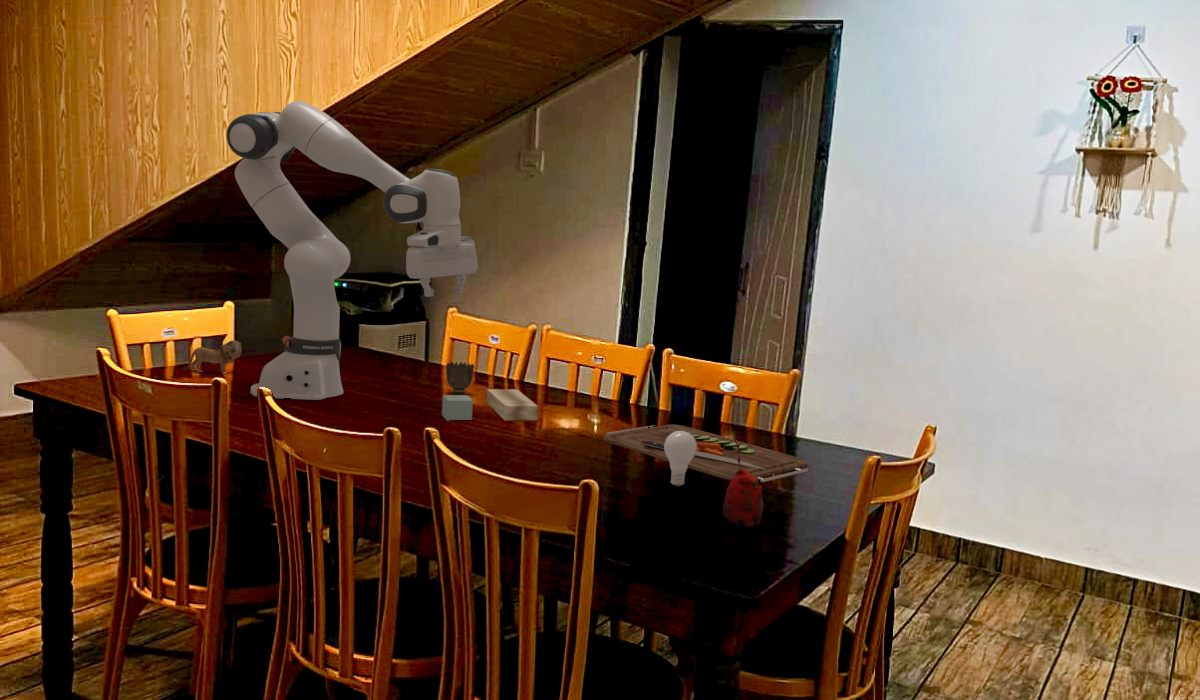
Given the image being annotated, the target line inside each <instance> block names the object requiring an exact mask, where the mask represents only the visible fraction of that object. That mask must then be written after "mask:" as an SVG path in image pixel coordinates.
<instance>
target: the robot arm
mask: <svg viewBox="0 0 1200 700" xmlns="http://www.w3.org/2000/svg"><path fill="white" fill-rule="evenodd" d="M226 141H227V145H228V146H229V148H230V150H231V151H232V152H233V153H234V154H235V155H236V156H238V157H240V158H242V160H241V161H240V162H239V163H238V164H237V166H236V167H235V170H234V177H235V181H236V183H237V185H238V187H239V188H240V190H241V192H242V195H243V196H244V198H245V199H246V200H247V202H248V204H249V206H250V207H251V208H252V209H253V211H254V212H255V214H256V215H257V216H258V217H259V219H260V221H261V222H262V223H263V225H264V226H265V228H266V230H268V231H269V233H270V234H271V235H272V236H273V237H275V239H277V240H279V241H280V242H281V243H282V244H283V245H284V246H285V247H287V248H286V249H288V250H287V252H286V254H285V256H284V260H283V266H284V269H285V271H286V273H287V275H288V277H289V283H290V288H291V293H292V300H293V335H292V336H289V335H285V336H284V337H282V339H281V340H282V343H283V344H284V352H282V353H281V354H279V355H277V357H275V358H273V359H272V360H271V361H269V362H267V363H266V364H265V365H264V366H263V368H262V370H261V373H260V378H259V383H254V384H253V385H251V387H250V394H251V395H252V396H254V397H256V398H258V397H257V389H258V387H265V388H268V389H270V390H271V391H272V393H273V396H274V397H275V398H274V399H284V398H291V399H292V400H310V401H319V400H324V399H327V398H332V397H337V396H341V395H343V394H344V389H343V384H342V380H341V374H340V360H341V354H342V353H341V350H342V342H341V338H340V316H341V315H340V314H341V313H340V312H341V308H340V305H339V303H338V300H337V295H336V289H335V280H338V279H340V277H341V276H343V275H344V274H346V272H347V270H348V268H349V267H350V265H351V264H350V263H351V253H350V251H349V249H348V247H347V246H346V245H345V244H344V243H343V242H342V241H340V240H339V239H338V238H337V237H336V236H335V235H334V234H333V232H332V231H331V230H330V229H329V228H328V227H327V226H326V225H325V224H324V222H322V221H321V220H320V219H319V218H318V216H316V215H315V214H314V213H313V212H312V210H311V209H310V208H309V206H308V205H307V204H306V203H305V201H304V200H303V199H302V197H301V196H300V195H299V193H298V192H297V191H296V189H295V187H293V185H292V184H291V182H290V181H289V180H288V178H287V177H286V176H285V174H284V173H283V171H282V169H281V164H284V163H286V162H287V161H288V160H289V158H290V156H291V155H292V153H294V151H295V150H296V149H297V150H299V151H300V152H301V153H302V154H304V155H305V156H306V157H307V158H309V159H310V160H312V161H313V162H314V163H316V164H317V165H319V166H321V167H323V168H324V169H327V170H329V171H332V172H336V173H341V174H342V173H343V174H346V175H352V176H356V177H358V178H361V179H364V180H366V181H368V182H370V183H371V184H372V185H374V186H375V187H377V188H378V189H380V190H381V191H382V192H383V193H384V194H383V199H382V207H383V210H384V213H385V214H386V216H387V217H388V218H389V219H390V220H392V221H394V222H396V223H399V224H414V223H415V224H416V223H417V224H423V229H421V230H419V231H417V232H416V233H414V234H412V235H409V236H407V238H406V244H407V246H408V248H407V251H406V257H405V260H406V261H405V262H406V263H405V268H406V269H405V271H406V274H407V276H408V277H409V279H417V280H419V283H420V285H421V286H422V288H423V293H424V295H423V296H424V297H427V298H429V297H431V298H432V297H434V295H435V294H434V291H435V289H434V288H432V287H431V286H430V283H431V278H439V277H441V278H442V277H447V276H455V277H456V279H457V281H456V284H455V285H453V293H454V294H463V293H464V292H463V291H464V289H463V287H464V285H465V283H466V281H467V275H471V274H476V273H477V271H478V269H479V266H478V264H479V263H478V256H477V254H478V253H477V250H476V242H475V240H474V239H473V238H472V237H471V236H469V235H465V236H463V235H462V225H461V224H462V223H461V220H460V214H459V213H460V210H461V194H460V185H459V184H460V183H459V180H458V177H457V175H455V173H453V172H451V171H449V170H444V169H437V168H432V167H431V168H426V169H424V171H423V172H422V173H420V174H418V175H417V176H414V177H413V178H410V177H409V176H406V175H405V174H403V173H402V172H401V171H399V170H398V169H397V168H395V167H394V166H392V165H391V164H389V163H388V162H387V161H385V160H383V159H382V158H381V157H379V156H378V155H377V154H375V153H374V152H373V151H371V150H370V149H369V148H368V147H367V146H366V145H365V144H364V143H362V142H361V141H360V140H359V139H358V138H357V137H356V136H354V135H353V134H352V133H351V132H350V131H349V130H348V129H347V128H346V127H344V126H343V125H342V124H340V122H338V121H337V120H336V119H334V118H332V116H330V115H329V114H327V113H326V112H324V111H323V110H321V109H320V108H317V107H315V106H314V105H312V104H309V103H308V102H306V101H302V100H295V101H292V102H290V103H288V104H287V105H286V106H285V107H283V108H282V110H281V112H279V111H273V112H271V111H259V112H256V113H247V114H241V115H240V116H237V117H236V118H234V119H233V120H231V122H230V123H229V125H228V127H227V129H226ZM291 399H290V400H291Z"/></svg>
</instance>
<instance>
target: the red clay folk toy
mask: <svg viewBox="0 0 1200 700" xmlns="http://www.w3.org/2000/svg"><path fill="white" fill-rule="evenodd" d="M733 440H734V441H735V443H736V447H737V448H734V453H735V454H737V452H738V459H737V461H738V463H739V470H738V471H737V472H736V474H735V476H734V477H733V479H732V480H730V483H729V484H728V486H727V489H726V493H725V497H724V499H723V502H722V503H723V504H722V510H723V511H722V515H723V518H725V519H726V520H727V521H729V523H731V524H733V525H736V526H739V527H740V526H744V527H745V528H749V527H750V528H752V527H754V526H757V525H760V524H761V521H762V514H763V512H764V501H763V497H764V496H763V494H762V492H763V487H762V486H761V485H760V484H759V479H758V478H757V477H756V476H753V475H751V472H749V471H744V470H742V469H741V465H740V460H741V459H742V458H740V456H739V446H740V445H741V444H743V442H744V441H741V442H742V443H741V444H738V443H737V441H738V440H736V438H735V437H734V438H733ZM731 446H735V445H731Z"/></svg>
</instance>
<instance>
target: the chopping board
mask: <svg viewBox="0 0 1200 700" xmlns="http://www.w3.org/2000/svg"><path fill="white" fill-rule="evenodd" d="M653 426H655V427H653ZM648 427H650V428H648ZM643 428H644V429H643ZM666 428H667V429H666ZM631 430H632V431H631ZM675 431H685V432H688V433H690V434H691V435H692V436H693V437H694V439H695V441H696V444H697V451H696V454H695V456H694V457H693V459H692V460H691V461H690V463H689V464H688V467H687V469H691V470H694V471H698V472H701V473H704V474H707V475H711V476H714V477H717V478H721V479H722V480H723V479H724V480H726V481H727V480H728V481H732V479H733V477H734V476H735V474H736V472H737V471H738V470H739V463H738V461H737V459H738V452H737V454H735V453H734V448H737V447H736V443H735V441H734V438H729V437H725V436H723V435H722V436H721V435H717V434H714V433H711V432H706V431H703V430H700V429H697V428H692V427H688V426H685V425H681V424H664V425H658V426H656V425H655V424H654V425H653V424H652V425H649V426H642V427H636V428H635V427H634V428H629V429H628V428H627V429H622V430H616V431H610V432H606V434H604V435H603V441H604V442H605V441H606V442H605V443H609V444H611V445H614V444H615V445H614V446H617V445H618V447H621V446H622V447H621V448H624V449H627V448H628V450H630V449H631V450H630V451H633V450H634V452H636V451H637V453H640V454H644V455H646V454H647V456H649V455H650V456H649V457H652V456H653V458H657V459H659V460H663V461H666V462H668V463H670V462H669V460H668V458H667V456H666V454H665V451H664V444H665V440H666V439H667V437H668V436H669V435H670V434H671V433H673V432H675ZM736 441H737V443H738V444H741V443H742V442H743V444H741V445H740V446H739V456H740V458H742V459H741V460H740V465H741V469H742V470H744V471H749V472H751V475H753V476H756V477H757V478H758V480H760V481H759V482H761V483H766V482H769V481H774V480H777V479H778V480H779V479H782V478H787V477H791V476H795V475H799V474H803V473H808V472H809V469H808V468H807V465H808V464H807V461H808V460H807V459H803V458H800V457H797V456H793V455H790V454H787V453H783V452H779V451H776V450H772V449H768V448H766V447H765V448H764V447H761V446H758V445H754V444H751V443H746V442H744V441H740V440H736ZM731 445H735V446H731ZM793 470H795V471H793ZM773 475H774V476H773ZM769 476H770V477H769ZM764 477H765V478H764Z"/></svg>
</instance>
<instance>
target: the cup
mask: <svg viewBox="0 0 1200 700" xmlns="http://www.w3.org/2000/svg"><path fill="white" fill-rule="evenodd" d="M445 367H446V379H447V383H448V385H449V387H451V388H452V389H451V392H452V394H454V395H465V394H466V392H467V388H468V387H470V386H471V384H472V380H473V377H474V371H475V364H474V363H472V364H470V362H469V363H467V364H466V362H462V361H461V362H459V364H458V361H456V362H455V363H454V362H453V361H450V362H446V365H445Z"/></svg>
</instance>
